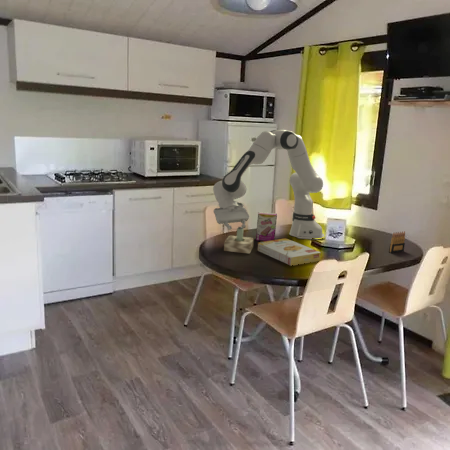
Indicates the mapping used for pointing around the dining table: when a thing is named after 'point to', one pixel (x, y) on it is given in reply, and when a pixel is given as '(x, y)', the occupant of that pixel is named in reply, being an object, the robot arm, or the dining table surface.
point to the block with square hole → (238, 244)
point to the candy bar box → (266, 226)
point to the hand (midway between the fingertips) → (237, 228)
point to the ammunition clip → (397, 242)
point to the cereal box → (289, 251)
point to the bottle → (240, 234)
